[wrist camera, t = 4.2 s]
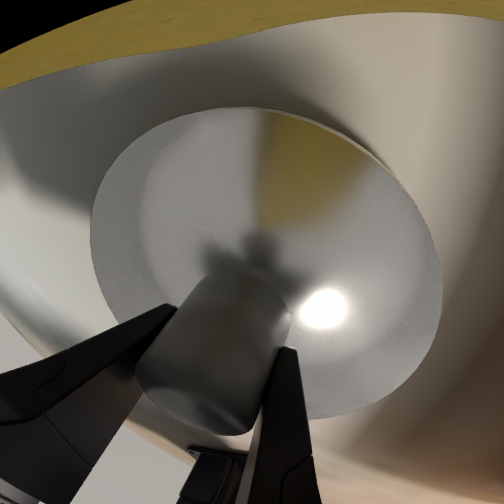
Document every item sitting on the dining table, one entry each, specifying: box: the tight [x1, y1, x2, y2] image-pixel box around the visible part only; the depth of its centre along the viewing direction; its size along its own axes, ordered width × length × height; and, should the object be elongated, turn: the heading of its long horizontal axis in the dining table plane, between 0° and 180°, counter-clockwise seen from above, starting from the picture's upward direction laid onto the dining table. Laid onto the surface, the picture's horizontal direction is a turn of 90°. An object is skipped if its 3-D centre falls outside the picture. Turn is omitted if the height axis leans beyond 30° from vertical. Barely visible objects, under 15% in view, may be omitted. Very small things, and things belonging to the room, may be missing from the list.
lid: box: [90, 107, 443, 436], centre depth 9 cm, size 12×12×4 cm
